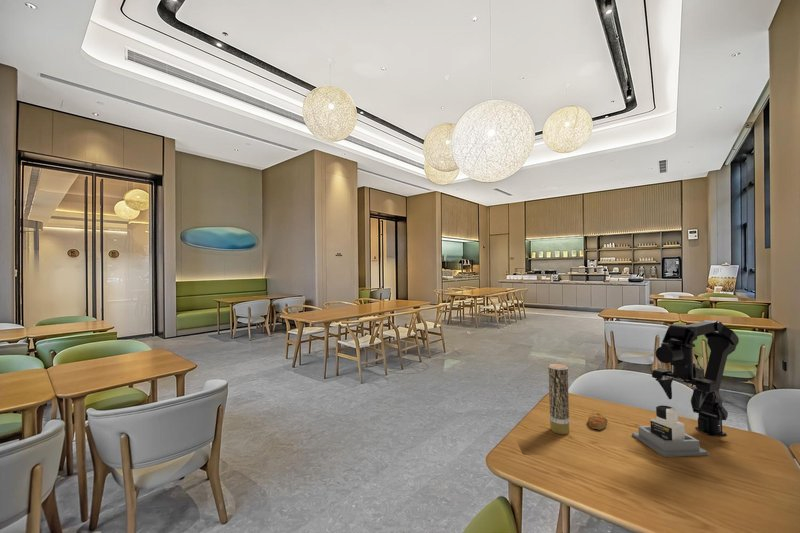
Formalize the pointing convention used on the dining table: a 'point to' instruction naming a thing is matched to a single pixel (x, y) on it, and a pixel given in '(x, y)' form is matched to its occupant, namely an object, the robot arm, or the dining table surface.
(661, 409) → the medicine bottle
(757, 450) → the dining table surface
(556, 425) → the bark-patterned cylinder
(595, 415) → the pastry
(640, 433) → the bottle caddy
